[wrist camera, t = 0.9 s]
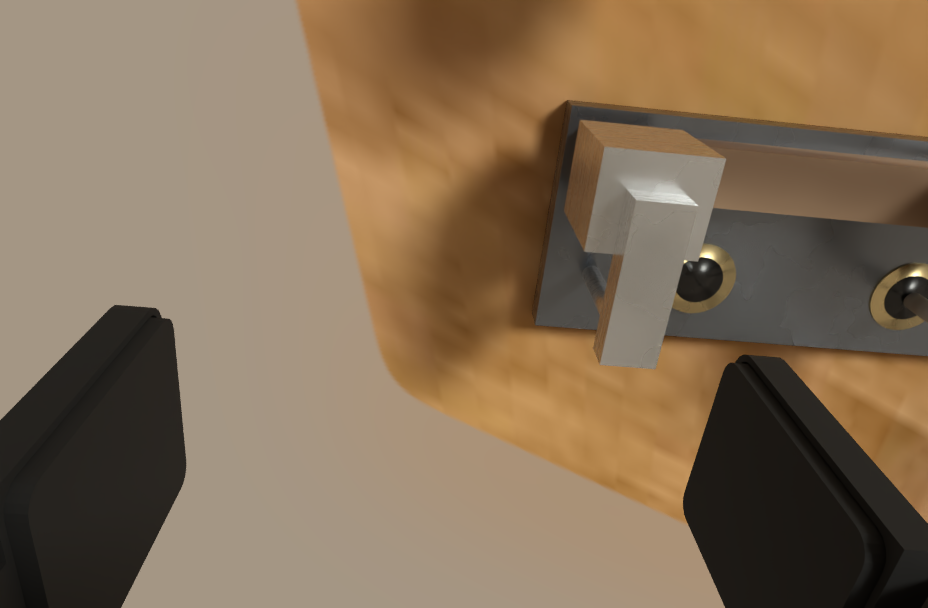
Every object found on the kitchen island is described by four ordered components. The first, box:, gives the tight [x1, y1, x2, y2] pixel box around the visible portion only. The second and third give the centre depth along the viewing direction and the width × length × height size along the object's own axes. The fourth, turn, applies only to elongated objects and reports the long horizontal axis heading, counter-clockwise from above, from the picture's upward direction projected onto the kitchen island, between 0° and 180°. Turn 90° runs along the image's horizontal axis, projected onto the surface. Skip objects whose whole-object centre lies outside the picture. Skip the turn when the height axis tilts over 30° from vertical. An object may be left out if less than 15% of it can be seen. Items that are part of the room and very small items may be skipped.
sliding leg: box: [564, 120, 726, 369], centre depth 25 cm, size 7×4×7 cm, turn 174°
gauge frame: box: [696, 138, 928, 323], centre depth 26 cm, size 7×21×8 cm, turn 84°
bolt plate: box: [532, 100, 928, 356], centre depth 30 cm, size 10×22×1 cm, turn 84°
